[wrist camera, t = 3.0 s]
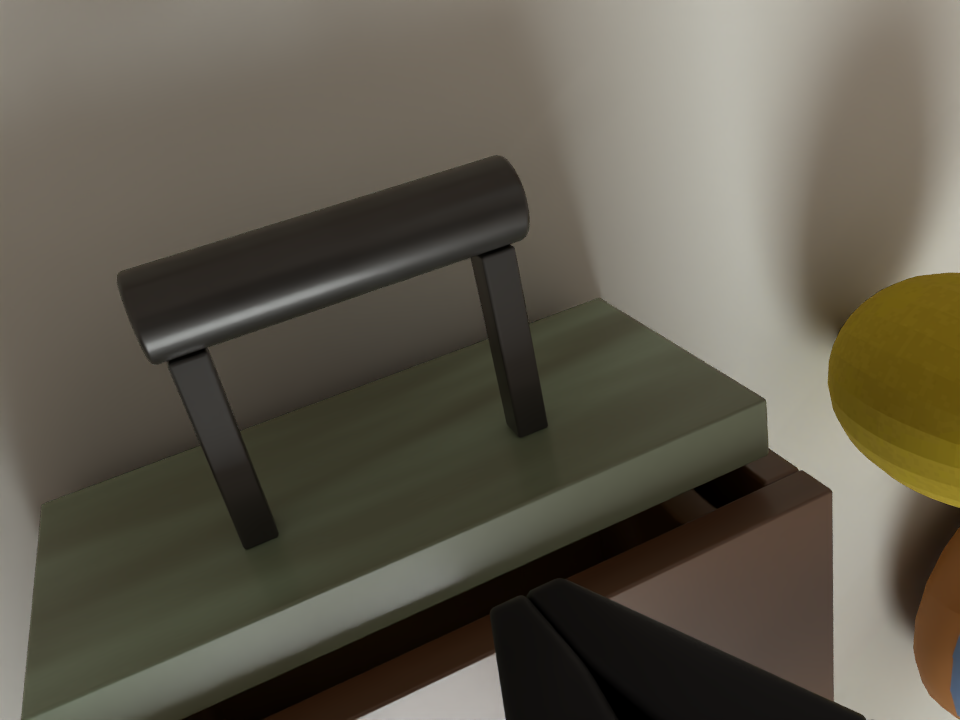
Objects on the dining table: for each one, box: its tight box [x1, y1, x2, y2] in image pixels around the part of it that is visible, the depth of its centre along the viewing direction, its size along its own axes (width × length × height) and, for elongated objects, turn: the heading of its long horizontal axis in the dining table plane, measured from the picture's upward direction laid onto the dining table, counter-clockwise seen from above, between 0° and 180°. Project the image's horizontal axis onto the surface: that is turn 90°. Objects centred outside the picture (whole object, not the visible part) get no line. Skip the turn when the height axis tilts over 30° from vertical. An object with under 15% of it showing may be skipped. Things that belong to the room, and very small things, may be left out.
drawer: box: [21, 155, 769, 720], centre depth 18 cm, size 20×12×6 cm, turn 13°
